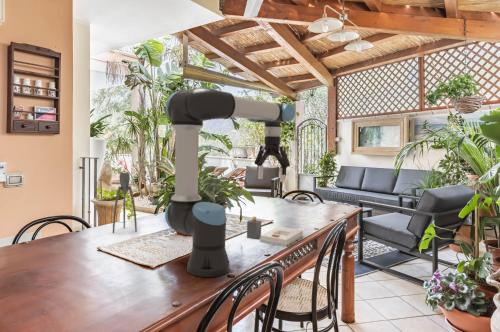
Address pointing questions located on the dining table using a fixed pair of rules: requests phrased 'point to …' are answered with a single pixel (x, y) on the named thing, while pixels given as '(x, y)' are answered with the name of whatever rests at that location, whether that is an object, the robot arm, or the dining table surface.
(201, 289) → the dining table surface
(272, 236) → the socket plate
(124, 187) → the juicer
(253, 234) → the plug
